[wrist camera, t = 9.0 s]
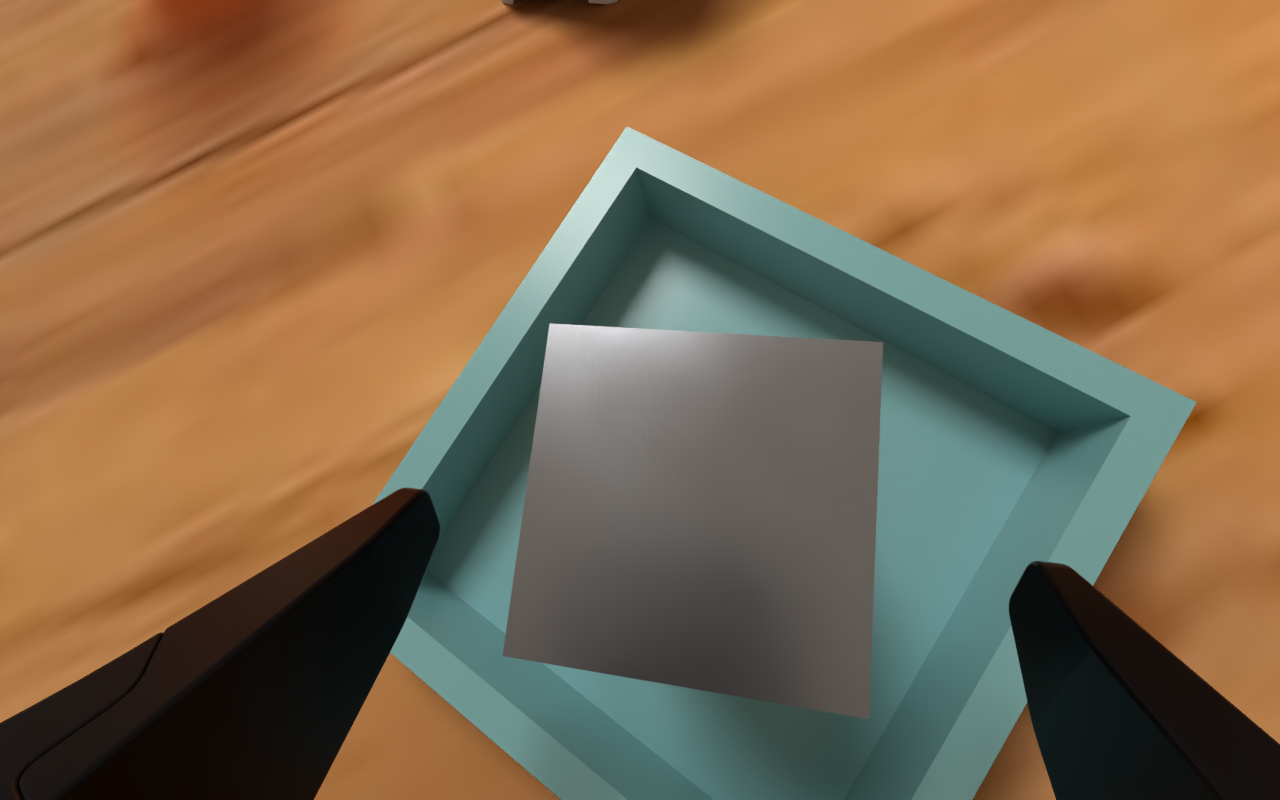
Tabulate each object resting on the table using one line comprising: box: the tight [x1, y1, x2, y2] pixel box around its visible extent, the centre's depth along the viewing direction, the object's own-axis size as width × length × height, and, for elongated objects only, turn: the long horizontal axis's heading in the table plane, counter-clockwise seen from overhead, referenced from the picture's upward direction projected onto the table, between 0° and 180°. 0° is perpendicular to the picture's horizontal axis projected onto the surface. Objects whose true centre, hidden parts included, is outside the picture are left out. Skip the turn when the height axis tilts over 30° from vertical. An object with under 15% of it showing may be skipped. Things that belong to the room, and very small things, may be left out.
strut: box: [503, 323, 883, 719], centre depth 12 cm, size 5×5×11 cm
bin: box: [373, 127, 1196, 800], centre depth 16 cm, size 16×16×4 cm
